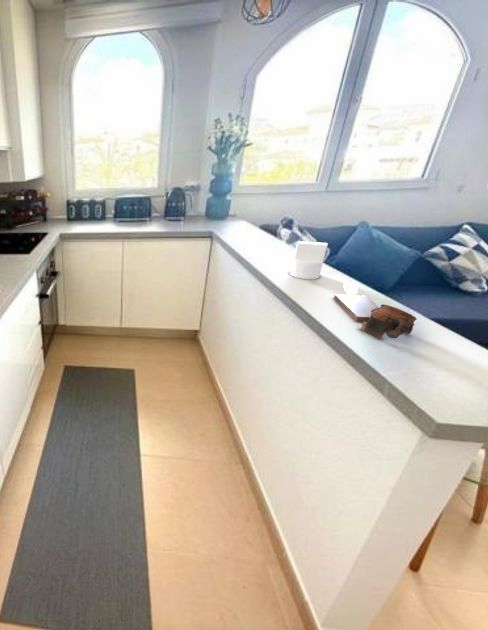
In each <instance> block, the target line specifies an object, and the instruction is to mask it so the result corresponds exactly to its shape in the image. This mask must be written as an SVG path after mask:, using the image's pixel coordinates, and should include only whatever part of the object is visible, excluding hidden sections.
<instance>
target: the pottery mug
mask: <svg viewBox="0 0 488 630" xmlns="http://www.w3.org/2000/svg"><path fill="white" fill-rule="evenodd" d="M379 307H380V308H377V309H374V310H372V311H371V312H372V313H371V315H372V316H370V318H369V320H368V322H362V324H361V327H360V330H361V331H363V332H365V333H367V334H369V335H370V336H373V337H375V338H378V339H382V338H383V336H384V335H385V334H386V336H387V337H388V338H389V339H397V338H398V337H399V336H402V335H404V334H405V335H410V334H411V333H412V332H413V329H414V326H415V321H417V319H418V318H417V317H416V316H414V315H413V314H411V313H409V312H407V311H405V310H403V309H400V308H397V307H395V306H392V305H389V304H384V303H381V304H380V306H379ZM388 319H391V320H392V323H388Z"/></svg>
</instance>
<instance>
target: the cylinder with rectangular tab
mask: <svg viewBox="0 0 488 630" xmlns="http://www.w3.org/2000/svg"><path fill="white" fill-rule="evenodd" d="M328 244H329V243H328V242H319V241H318V242H317V241H304V240H303V241H302V240H298V241H297V242H296V246H295V250H294V255H293V261H292V265H291V268H290V269H291V270H290V273H289V274H290V276H292V277H294V278H298V279H303V280H316V279H319V278H320V277H321V272H322V268H323V264H324V261H325V256H326V253H327V250H328Z"/></svg>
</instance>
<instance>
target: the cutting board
mask: <svg viewBox="0 0 488 630" xmlns="http://www.w3.org/2000/svg"><path fill="white" fill-rule="evenodd" d="M333 299H334V300H335V301H336V303H337V304H338V305H339V306H340V307H341V308H342V309H343V310H344V311H345V312H346V313H347V314H348V315H349V316H350V317H351V318H352V319H353V320H354V321H355V323H356V322H359V323H363V322H368V320H369V318H370V316H372V315H371V313H372V312H371V311H372V310H374V309H377V308H380V307H381V306H379V305H378V304H377V303H375V302H374V301H373V300H372V299H371V298H370V297H368V296H367V295H366V294H365V295H362V294H339V293H338V294H334V296H333ZM388 323H392V320H391V319H388Z"/></svg>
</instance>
